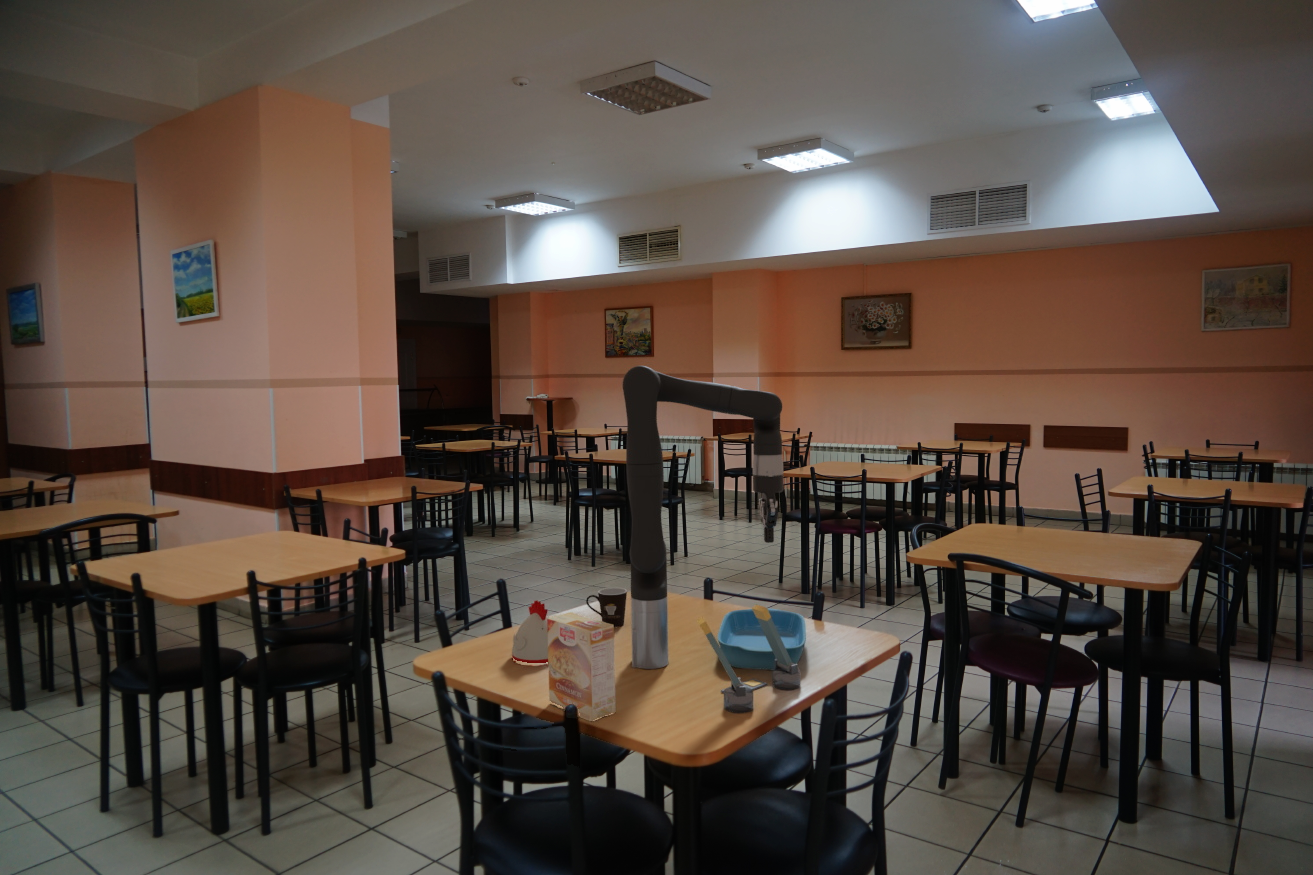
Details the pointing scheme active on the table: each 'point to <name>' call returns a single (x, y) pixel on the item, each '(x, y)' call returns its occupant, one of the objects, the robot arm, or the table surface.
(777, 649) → the far lever
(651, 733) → the table surface
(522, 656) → the kitchen timer
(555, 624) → the coffeecake box
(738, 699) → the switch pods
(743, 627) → the casserole dish
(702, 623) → the near lever
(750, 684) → the chart card
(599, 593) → the coffee mug
